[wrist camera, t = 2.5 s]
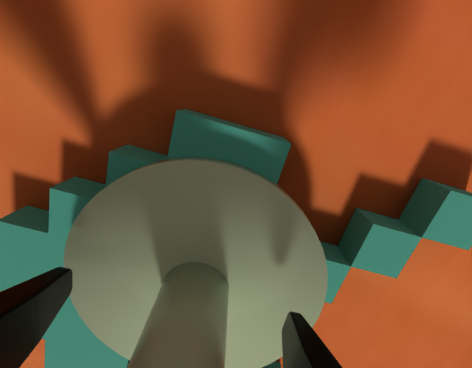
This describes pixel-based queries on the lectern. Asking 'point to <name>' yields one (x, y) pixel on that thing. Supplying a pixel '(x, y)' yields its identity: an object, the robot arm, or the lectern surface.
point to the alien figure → (239, 152)
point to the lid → (194, 265)
